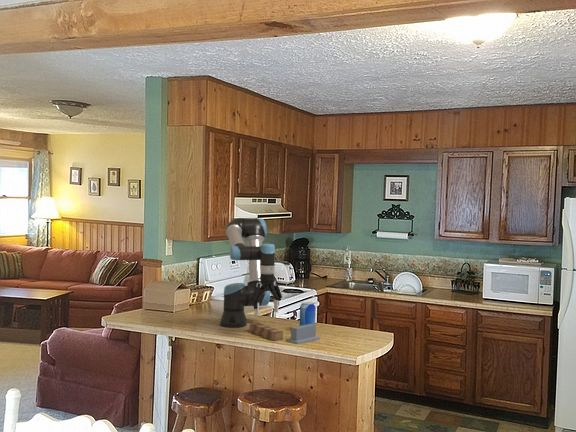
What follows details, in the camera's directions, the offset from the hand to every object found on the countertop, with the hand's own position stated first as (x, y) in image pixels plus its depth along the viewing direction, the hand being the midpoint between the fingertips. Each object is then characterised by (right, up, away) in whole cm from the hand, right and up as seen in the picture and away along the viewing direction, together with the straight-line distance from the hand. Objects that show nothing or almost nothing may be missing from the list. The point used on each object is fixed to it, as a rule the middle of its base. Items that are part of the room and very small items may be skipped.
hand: (266, 313), depth 310 cm
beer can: (+22, -12, +12) cm, 28 cm away
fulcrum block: (+19, -13, -7) cm, 24 cm away
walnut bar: (0, -12, +1) cm, 12 cm away
